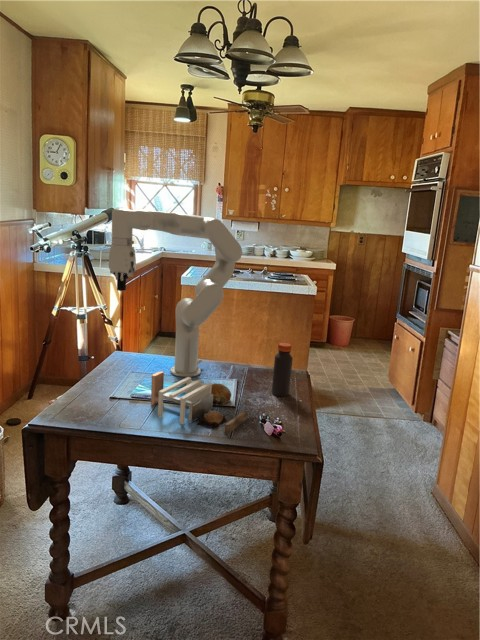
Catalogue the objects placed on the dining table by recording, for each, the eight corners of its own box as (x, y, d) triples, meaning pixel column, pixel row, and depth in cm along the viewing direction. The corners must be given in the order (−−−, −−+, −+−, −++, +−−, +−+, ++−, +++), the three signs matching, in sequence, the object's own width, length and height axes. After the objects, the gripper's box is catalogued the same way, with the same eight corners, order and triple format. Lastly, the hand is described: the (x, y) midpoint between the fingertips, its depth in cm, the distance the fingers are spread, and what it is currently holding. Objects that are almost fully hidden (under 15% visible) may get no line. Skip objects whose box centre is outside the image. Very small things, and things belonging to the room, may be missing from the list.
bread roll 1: (232, 409, 177) (237, 388, 178) (221, 407, 167) (227, 385, 169) (209, 403, 180) (214, 382, 182) (197, 400, 171) (203, 379, 173)
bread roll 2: (206, 414, 164) (207, 404, 163) (229, 419, 161) (229, 409, 161) (192, 426, 154) (193, 415, 154) (216, 431, 152) (217, 421, 151)
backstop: (243, 418, 161) (244, 410, 161) (246, 419, 161) (247, 411, 160) (224, 433, 150) (224, 424, 149) (227, 434, 150) (228, 425, 149)
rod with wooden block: (166, 395, 175) (167, 368, 172) (212, 409, 166) (214, 380, 163) (143, 407, 163) (144, 378, 161) (191, 423, 154) (192, 392, 152)
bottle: (292, 394, 186) (297, 345, 181) (281, 398, 181) (286, 348, 176) (278, 388, 190) (283, 340, 185) (268, 392, 185) (272, 343, 180)
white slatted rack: (187, 400, 173) (188, 376, 171) (210, 407, 168) (211, 383, 166) (157, 416, 158) (158, 391, 156) (182, 424, 154) (183, 398, 152)
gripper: (144, 244, 179) (142, 291, 183) (113, 240, 185) (113, 286, 190) (130, 244, 172) (129, 294, 177) (99, 240, 179) (99, 288, 183)
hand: (121, 290), depth 183 cm, fingers closed
